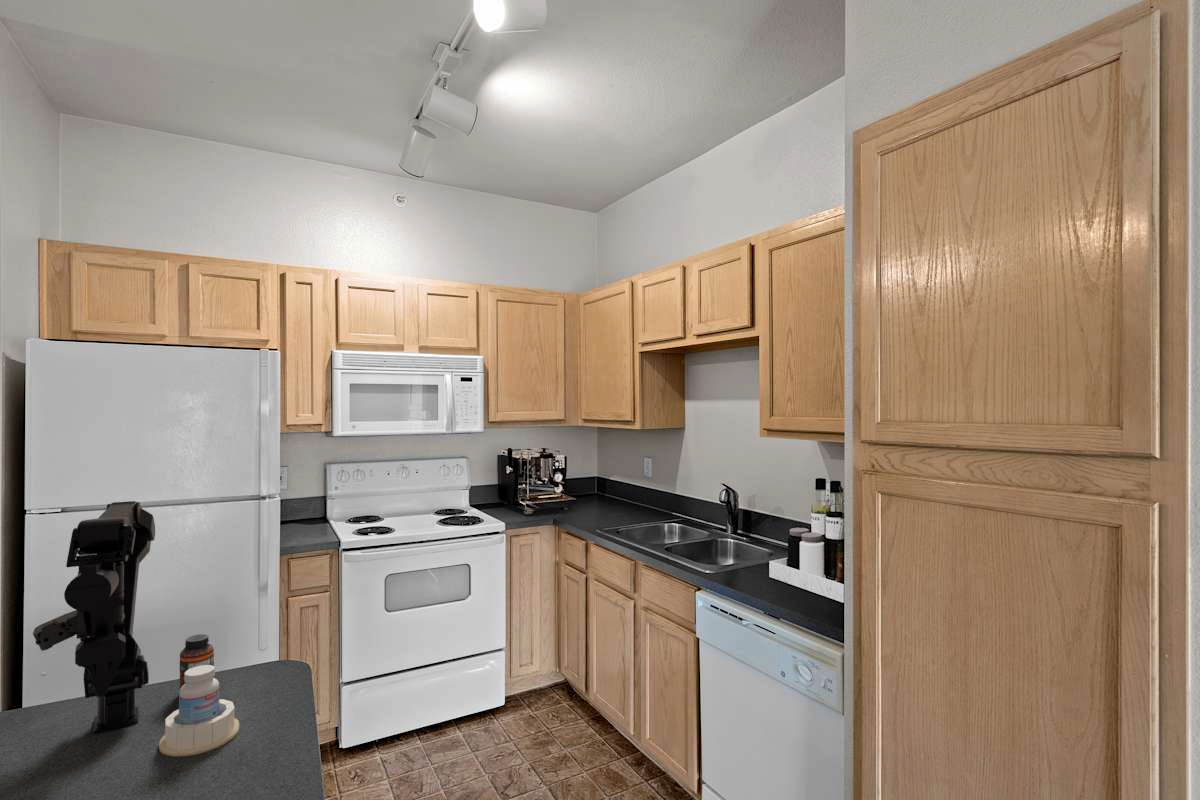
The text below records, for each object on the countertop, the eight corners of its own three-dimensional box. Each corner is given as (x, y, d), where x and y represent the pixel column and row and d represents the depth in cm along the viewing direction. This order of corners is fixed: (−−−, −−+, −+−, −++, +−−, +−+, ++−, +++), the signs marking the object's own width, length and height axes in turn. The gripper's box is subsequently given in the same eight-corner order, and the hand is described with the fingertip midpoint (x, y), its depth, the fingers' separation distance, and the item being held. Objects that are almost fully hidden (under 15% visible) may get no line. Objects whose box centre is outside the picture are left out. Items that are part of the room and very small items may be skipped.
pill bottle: (198, 744, 105) (198, 679, 105) (169, 739, 107) (170, 675, 107) (227, 726, 111) (227, 664, 111) (200, 722, 113) (200, 661, 113)
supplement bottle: (177, 690, 126) (178, 636, 126) (211, 682, 130) (211, 629, 130) (181, 701, 122) (181, 645, 122) (215, 692, 126) (216, 637, 126)
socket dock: (157, 733, 110) (158, 710, 110) (234, 713, 117) (234, 691, 117) (160, 765, 100) (160, 739, 100) (243, 740, 108) (244, 716, 108)
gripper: (43, 589, 105) (42, 679, 105) (31, 618, 91) (30, 723, 90) (124, 578, 112) (124, 663, 112) (126, 603, 98) (125, 701, 97)
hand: (101, 685), depth 103 cm, fingers open, 9 cm apart
